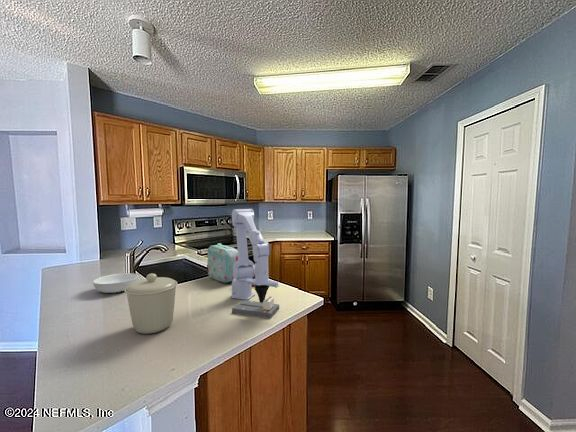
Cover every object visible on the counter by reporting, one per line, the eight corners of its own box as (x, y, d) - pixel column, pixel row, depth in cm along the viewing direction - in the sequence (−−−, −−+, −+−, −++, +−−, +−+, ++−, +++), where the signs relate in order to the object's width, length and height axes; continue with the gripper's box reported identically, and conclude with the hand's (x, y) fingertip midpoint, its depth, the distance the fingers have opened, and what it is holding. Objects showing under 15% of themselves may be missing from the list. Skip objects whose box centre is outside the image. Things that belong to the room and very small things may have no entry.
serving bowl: (141, 291, 146) (140, 279, 145) (93, 300, 134) (92, 286, 134) (137, 282, 163) (136, 270, 163) (94, 288, 151) (93, 276, 151)
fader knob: (263, 309, 116) (263, 299, 116) (267, 304, 121) (267, 295, 120) (269, 310, 115) (269, 300, 115) (274, 305, 120) (273, 296, 119)
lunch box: (204, 276, 173) (203, 243, 172) (219, 273, 180) (218, 241, 179) (226, 286, 154) (225, 248, 152) (241, 282, 161) (241, 246, 159)
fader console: (232, 312, 118) (232, 308, 118) (243, 304, 127) (243, 299, 127) (270, 318, 112) (270, 313, 112) (279, 308, 122) (279, 304, 122)
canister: (143, 317, 114) (141, 267, 113) (186, 317, 114) (184, 267, 112) (115, 339, 96) (112, 281, 95) (165, 339, 96) (163, 281, 94)
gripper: (242, 272, 116) (242, 303, 117) (274, 274, 112) (274, 307, 112) (249, 268, 123) (250, 297, 124) (280, 270, 118) (280, 301, 119)
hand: (262, 301), depth 119 cm, fingers closed
